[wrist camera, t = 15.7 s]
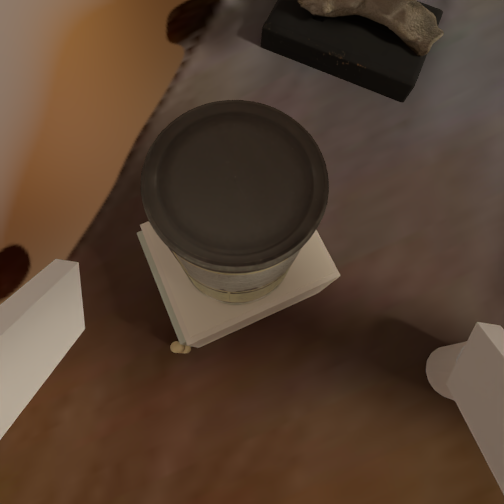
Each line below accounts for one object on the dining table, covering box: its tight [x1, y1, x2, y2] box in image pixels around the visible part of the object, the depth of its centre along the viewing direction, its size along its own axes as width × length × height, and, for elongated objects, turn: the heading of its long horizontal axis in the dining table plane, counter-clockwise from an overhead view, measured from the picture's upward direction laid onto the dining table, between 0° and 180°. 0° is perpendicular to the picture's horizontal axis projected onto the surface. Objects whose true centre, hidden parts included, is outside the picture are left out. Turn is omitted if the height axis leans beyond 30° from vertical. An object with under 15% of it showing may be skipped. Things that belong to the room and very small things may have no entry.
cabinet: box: [137, 221, 340, 353], centre depth 38 cm, size 12×17×10 cm
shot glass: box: [426, 341, 467, 401], centre depth 38 cm, size 7×7×7 cm
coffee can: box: [141, 100, 329, 305], centre depth 27 cm, size 10×10×14 cm
